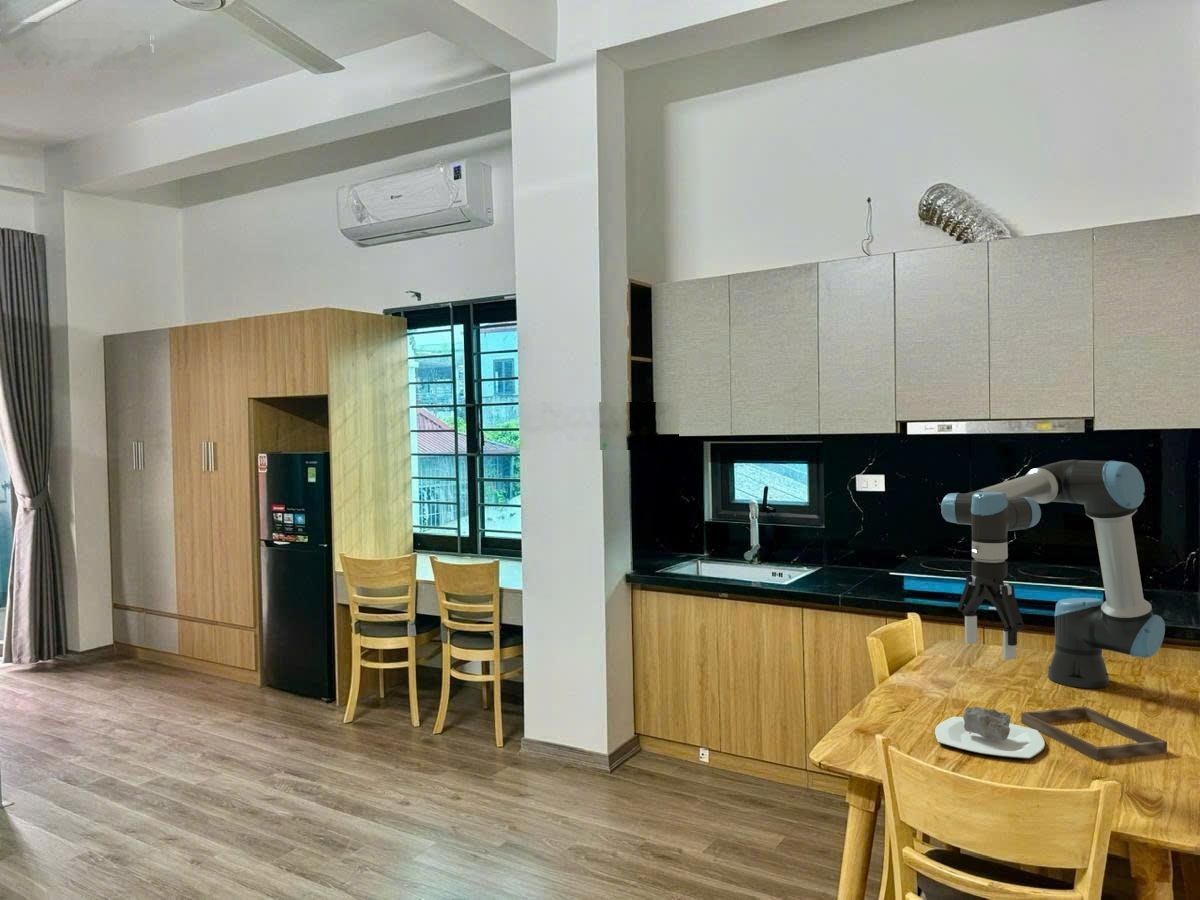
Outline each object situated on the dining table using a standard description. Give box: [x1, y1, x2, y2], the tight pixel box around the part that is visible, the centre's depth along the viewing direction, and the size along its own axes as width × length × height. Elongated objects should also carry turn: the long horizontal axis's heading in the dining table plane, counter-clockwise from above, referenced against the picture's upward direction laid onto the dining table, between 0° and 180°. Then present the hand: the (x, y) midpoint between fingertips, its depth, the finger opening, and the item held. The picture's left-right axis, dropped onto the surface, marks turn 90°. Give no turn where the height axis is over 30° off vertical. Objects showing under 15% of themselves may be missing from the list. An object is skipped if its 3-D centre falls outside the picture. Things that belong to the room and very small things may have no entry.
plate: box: [934, 716, 1046, 760], centre depth 200 cm, size 23×23×2 cm
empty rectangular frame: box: [1020, 706, 1168, 762], centre depth 201 cm, size 18×24×2 cm
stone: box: [963, 706, 1012, 741], centre depth 200 cm, size 8×10×6 cm
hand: (989, 651), depth 199 cm, fingers open, 13 cm apart
